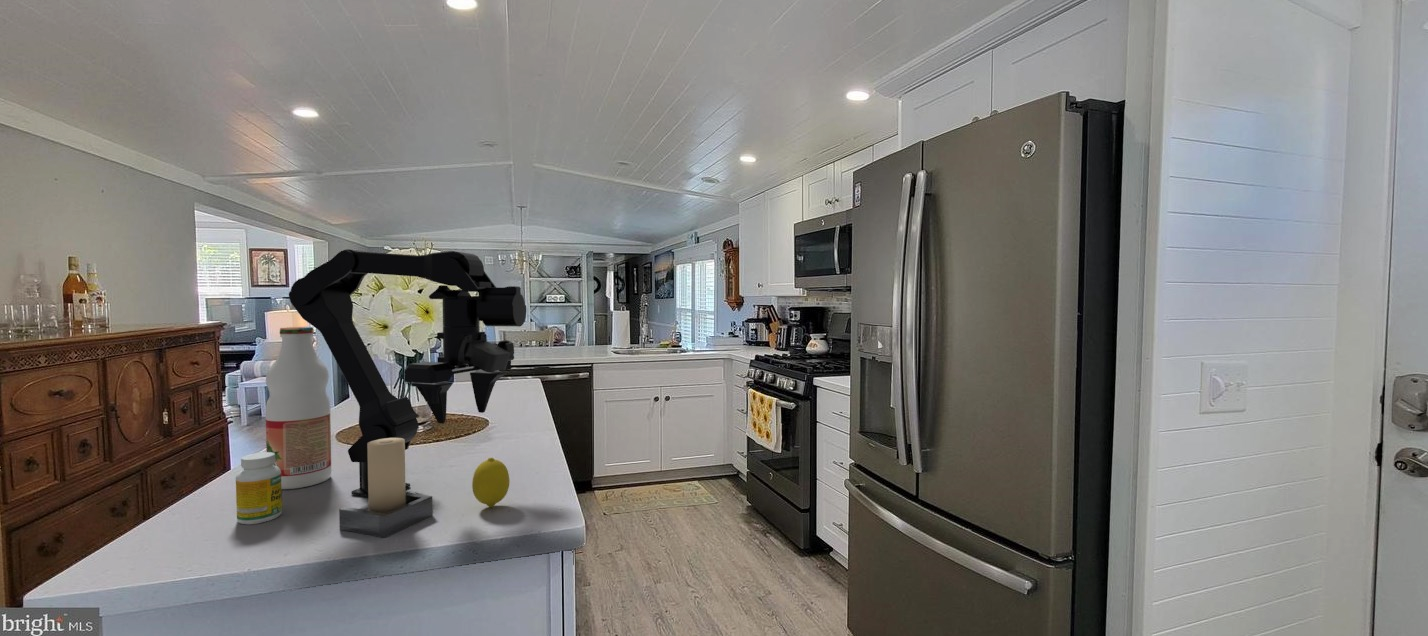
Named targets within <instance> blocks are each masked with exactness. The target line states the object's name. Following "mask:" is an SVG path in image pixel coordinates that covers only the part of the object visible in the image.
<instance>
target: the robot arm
mask: <svg viewBox="0 0 1428 636" xmlns="http://www.w3.org/2000/svg"><path fill="white" fill-rule="evenodd" d="M484 266H485V265H484V264H483V262H482V260H481V258H480V257H479V256H478V255H476V254H472V253H468V252H462V251H455V250H446V251H439V252H437V251H436V252H431V253H428V254H427V253H426V254H420V255H416V254H404V253H403V254H399V253H387V252H386V253H385V252H384V253H383V252H373V251H372V252H371V251H370V252H369V251H364V250H357V249H343V250H341V251H339V252H338V253H337V254H336V255H334V256H333V257H332V258H331V259H330V260H328V261H326V262H324V263H323V264H321V265H319V266H316V267H315V268H313V269H311V270H310V271H309V272H308V273H307V274H306V275H305V276H304V277H301V278H298V279H297V280H296V281H294V283H292V286H291V288H290V291H289V292H288V299H289V302H290V304H291V305H292V307H293V308H294V309H295V311H296V312H297V313H298V314H299V315H300V317H301V319H303V320H304V321H306V322H307V323H308V324H310V325H311V327H313V328H314V329H316V330H318V331H319V332H320V334H321V336H322V337H323V339H324V341H325V343H326V345H327V347H328V349H329V350H330V353H331V354H332V356H333V357H334V360H335V362H336V364H337V366H338V367H339V370H340V372H341V373H342V375H343V377H344V379H345V381H346V383H347V384H348V386H349V389H350V390H351V392H352V395H353V396H354V398H355V400H356V402H357V403H358V406H359V413H358V426H359V429H360V430H359V431H360V432H361V436H360V437H359V438H358V439H357V440H356V441H355V442H354V443H353V444H352V445H351V446H349V448H348V450H347V453H348V456H349V458H350V461H351V462H352V463H358V464H359V465H358V469H359V470H358V471H359V488H357V489H353V490H351V495H355V496H361V497H366V498H367V497H368V449H367V444H368V443H369V442H371V441H374V440H378V439H384V438H403V439H405V451H406V450H408V449H409V447H410V444H411V441H412V440H413V439H414V438H415V436H416V435H417V433H418V429H419V427H420V426H419V422H418V419H417V418H419V417H420V415H419V414H418V413H417V412H416V411H415V410H414V408H413V405H412V403H411V400H410V399H409V397H408V396H404V397H401V398H398V397H397V396H395V395H393V393H391V392H390V389H389V388H388V386H387V385H386V382H385V381H384V379H383V377H382V375H381V373H380V371H379V370H378V368H377V366H376V363H375V361H374V359H373V358H372V357H371V354H370V353H369V350H368V349H367V346H366V345H365V343H364V341H363V339H362V337H361V336H360V333H359V331H358V330H357V327H356V326H355V324H354V322H353V310H354V304H353V301H352V298H351V296H352V295H353V294H354V293H355V292H356V291H357V290H358V289H359V288H360V287H361V285H362V282H363V280H364V278H365V277H366V276H367V275H368V274H375V275H390V276H405V277H417V278H421V279H425V280H428V281H429V282H430V281H431V282H434V283H438V284H441V285H438V287H437V288H436V290H434V291H432V293H431V294H429V296H428V298H429V299H430V300H442V302H441V304H442V331H441V332H436V339H438V340H439V339H441V340H442V353H443V354H442V356H437V357H436V358H437V359H436V360H437V361H422V362H421V361H420V362H413V363H408V365H407V366H406V367H405V369H404V374H403V375H404V383H410V385H411V387H416V388H417V390H418V392H419V393H420V394H421V396H422V397H423V399H424V400H425V402H426V404H427V405H428V407H429V409H430V411H431V413H432V414H433V416H434V418H435V420H436V421H437V423H438V424H442V425H443V424H446V419H447V403H448V402H447V401H448V400H447V398H448V391H449V389H450V388H451V387H452V385H453V384H454V382H451V381H450V379H451V378H452V377H453V375H456V374H463V373H468V372H469V375H470V381H471V386H472V391H473V396H474V400H475V405H476V408H477V413H482V414H484V413H485V412H486V409H487V406H488V402H489V400H490V397H491V394H492V391H493V390H494V387H495V385H496V384H495V383H496V382H497V381H498V380H500V378H502V377H503V376H506V374H507V371H511V370H512V361H513V360H515V347H514V342H512V341H510V340H499V342H498V343H496V342H495V343H491V342H490V341H488V337H487V333H486V331H481V329H480V322H482V324H483V325H484V326H486V327H518V328H519V327H522V326H523V325H524V324H525V321H526V317H527V305H526V301H525V299H524V296H523V294H522V293H521V292H522V291H521V290H522V288H521V286H514V285H513V286H511V285H510V286H504V287H497V286H496V285H495V284H494V282H493V281H492V280H491V278H490V277H489V276H488V274H487V273H486V272H485V268H484ZM449 286H452V287H458V289H451V288H450V287H449ZM470 292H473V293H477V294H478V296H476V295H475V296H473V295H471V294H470ZM410 487H411V483H409V482H405V488H406V489H408V488H410Z"/></svg>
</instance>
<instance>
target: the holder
mask: <svg viewBox="0 0 1428 636" xmlns="http://www.w3.org/2000/svg"><path fill="white" fill-rule="evenodd" d="M433 510H434V509H433V496H432V495H428V494H420V493H412V492H406V505H403V506H401V507H398V508H396V509H394V510H391V511H389V512H386V513H382V512H376V511H370V510H369V509H362V508H357V507H350V506H344V507H341V508H339V510H338V511H339V513H338V516H339V517H338V519H339V520H338V521H339V523H338V524H339V530H340V531H344V532H345V531H346V532H351V533H357V534H363V535H367V536H373V537H374V536H375V537H378V538H384V539H385V538H387V537H390V536H392V535H395V534H397V533H398V532H400V531H402V530H404V529H406V528H409V527H411V526H413V525H415V524H417V523H420V522H421V521H424V520H426V519H428V518H430V517H432V516H433V515H434V514H433Z"/></svg>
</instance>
